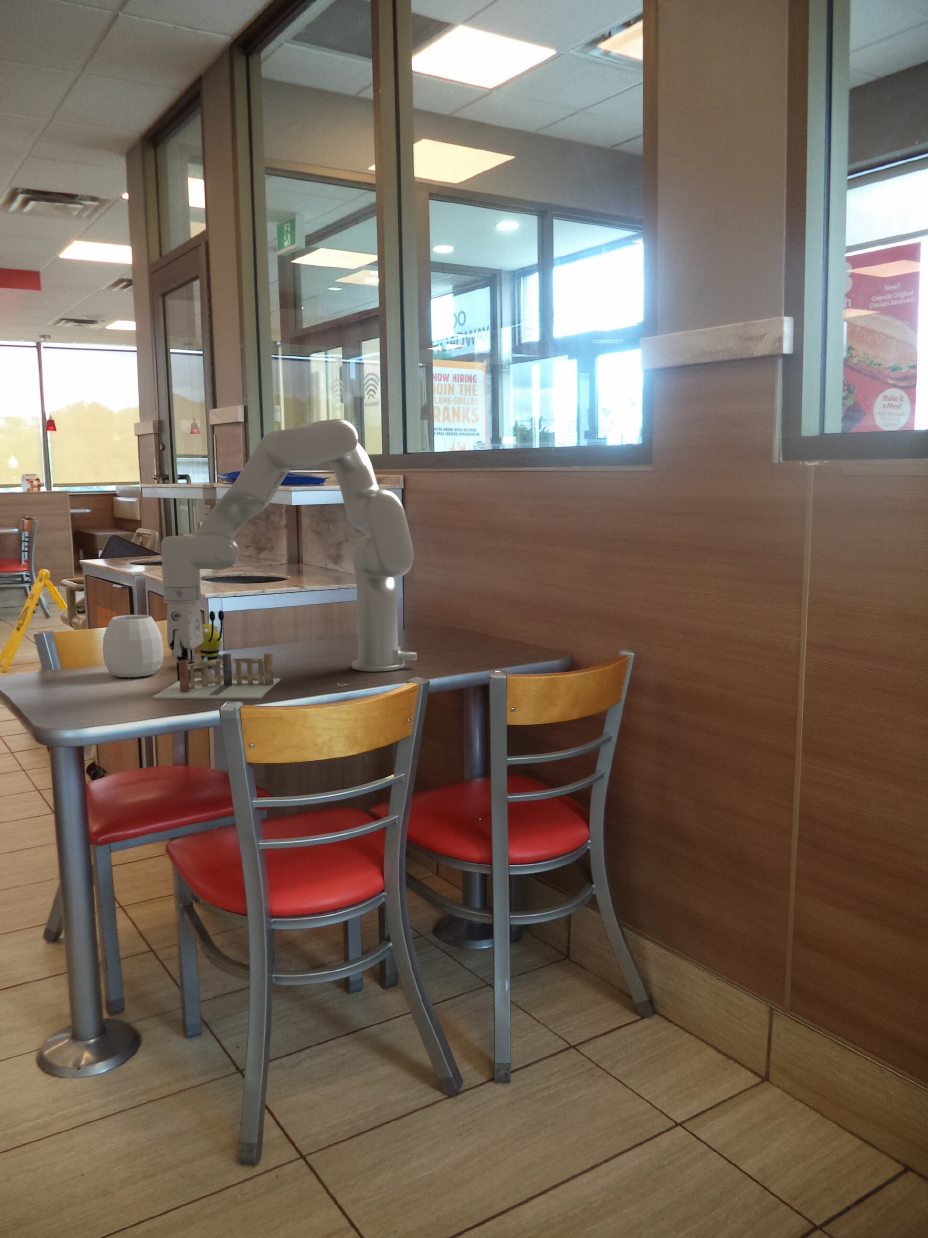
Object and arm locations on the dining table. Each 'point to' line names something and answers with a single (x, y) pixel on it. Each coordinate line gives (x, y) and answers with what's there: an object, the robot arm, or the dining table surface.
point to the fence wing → (188, 674)
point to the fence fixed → (248, 670)
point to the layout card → (218, 691)
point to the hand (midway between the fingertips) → (186, 680)
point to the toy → (212, 639)
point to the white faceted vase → (132, 646)
